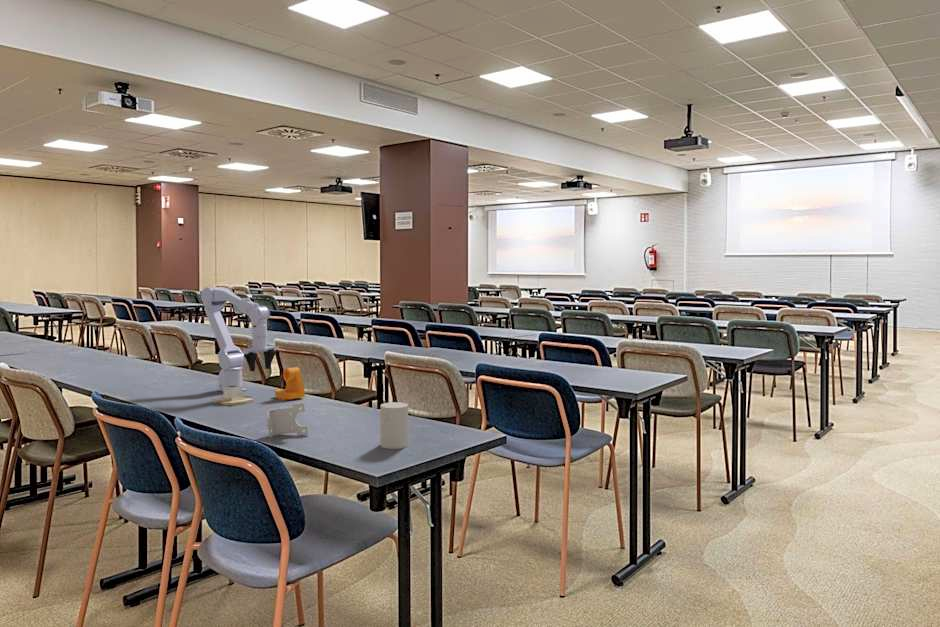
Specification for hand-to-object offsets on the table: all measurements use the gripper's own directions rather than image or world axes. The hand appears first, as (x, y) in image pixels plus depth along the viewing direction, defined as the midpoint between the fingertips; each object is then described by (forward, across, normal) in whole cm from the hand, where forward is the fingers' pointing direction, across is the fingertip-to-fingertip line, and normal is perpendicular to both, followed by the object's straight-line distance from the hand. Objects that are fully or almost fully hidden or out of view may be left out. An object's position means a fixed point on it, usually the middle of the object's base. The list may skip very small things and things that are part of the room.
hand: (260, 369), depth 281 cm
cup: (+10, -26, -94) cm, 98 cm away
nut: (+9, -16, -4) cm, 19 cm away
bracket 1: (+10, +2, -15) cm, 18 cm away
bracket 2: (+10, -38, -61) cm, 73 cm away
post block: (+10, -16, -4) cm, 19 cm away
